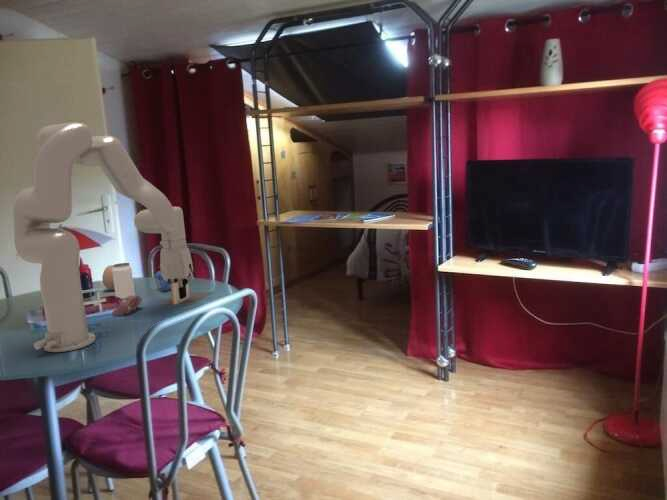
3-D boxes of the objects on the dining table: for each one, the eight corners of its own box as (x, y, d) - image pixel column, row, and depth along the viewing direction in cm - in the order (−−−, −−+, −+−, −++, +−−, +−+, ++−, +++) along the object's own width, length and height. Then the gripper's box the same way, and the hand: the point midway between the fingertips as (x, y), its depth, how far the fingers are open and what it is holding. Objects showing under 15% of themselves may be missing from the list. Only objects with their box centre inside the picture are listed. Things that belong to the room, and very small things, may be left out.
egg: (101, 290, 199) (98, 266, 197) (119, 286, 203) (116, 262, 201) (107, 293, 194) (104, 268, 192) (126, 289, 198) (122, 264, 196)
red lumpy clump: (122, 323, 162) (128, 303, 160) (109, 316, 162) (116, 297, 161) (139, 313, 172) (146, 295, 170) (128, 307, 172) (134, 289, 170)
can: (126, 299, 183) (122, 266, 181) (111, 299, 185) (107, 266, 183) (138, 294, 189) (134, 262, 187) (124, 294, 191) (120, 262, 189)
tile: (176, 304, 172) (173, 283, 170) (172, 304, 172) (170, 283, 171) (189, 297, 179) (187, 278, 178) (186, 297, 179) (183, 277, 178)
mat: (189, 306, 170) (189, 305, 170) (158, 305, 174) (158, 303, 174) (215, 293, 185) (214, 292, 185) (185, 292, 189) (185, 291, 189)
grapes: (161, 286, 199) (158, 256, 197) (179, 285, 199) (175, 255, 197) (151, 295, 188) (147, 262, 186) (170, 294, 188) (166, 261, 186)
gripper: (147, 246, 171) (154, 300, 174) (188, 246, 166) (194, 301, 169) (161, 242, 178) (168, 294, 181) (200, 242, 173) (206, 295, 176)
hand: (180, 297), depth 175 cm, fingers closed on tile, 1 cm apart
